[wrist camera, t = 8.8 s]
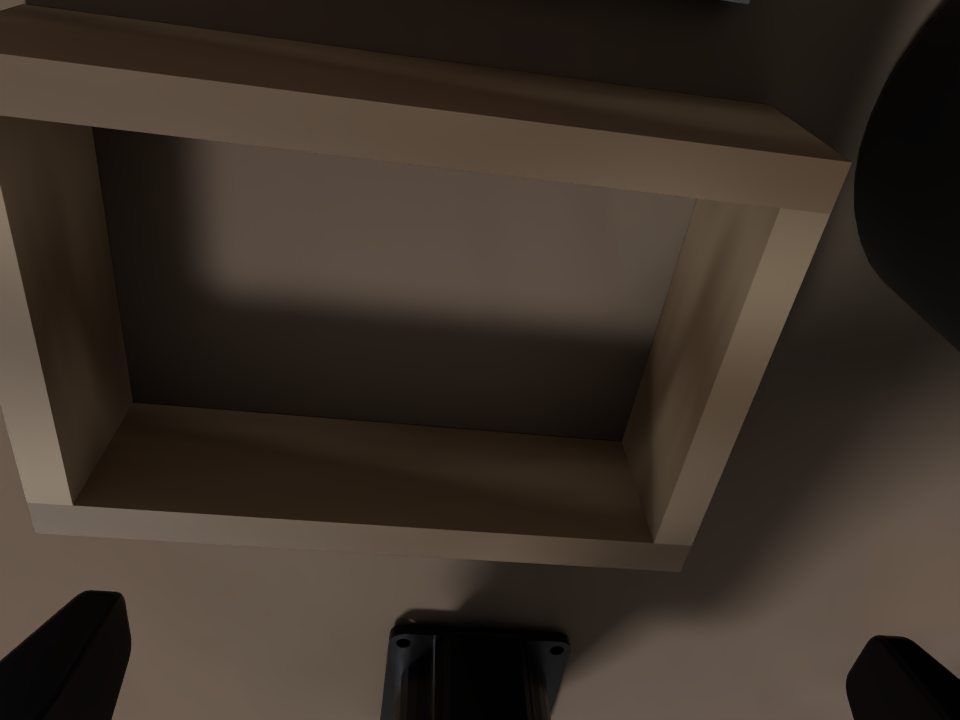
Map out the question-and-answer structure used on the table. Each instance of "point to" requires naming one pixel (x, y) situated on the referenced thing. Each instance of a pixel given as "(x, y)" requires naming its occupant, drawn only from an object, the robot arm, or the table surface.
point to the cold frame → (362, 444)
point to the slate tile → (739, 1)
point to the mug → (917, 178)
